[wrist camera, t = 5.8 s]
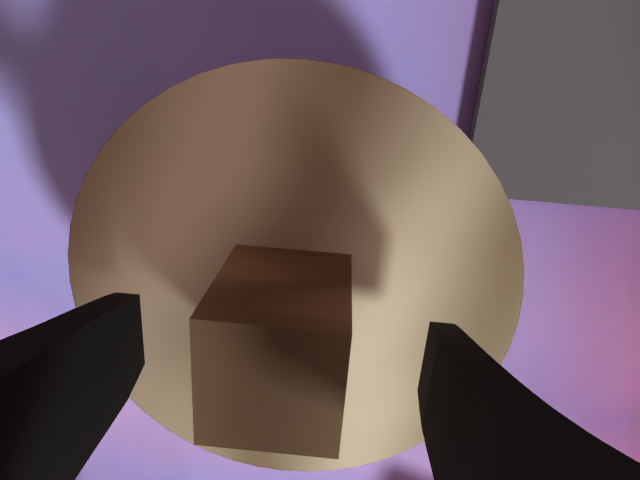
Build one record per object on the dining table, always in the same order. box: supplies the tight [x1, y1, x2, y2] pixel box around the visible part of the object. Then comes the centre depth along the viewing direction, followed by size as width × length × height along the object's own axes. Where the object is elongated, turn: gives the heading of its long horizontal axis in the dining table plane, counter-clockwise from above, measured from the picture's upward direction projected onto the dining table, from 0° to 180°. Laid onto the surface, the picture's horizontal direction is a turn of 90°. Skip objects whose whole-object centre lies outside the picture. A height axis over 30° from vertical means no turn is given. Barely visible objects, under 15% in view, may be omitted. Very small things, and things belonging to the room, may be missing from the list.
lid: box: [68, 59, 524, 471], centre depth 12 cm, size 13×13×5 cm
